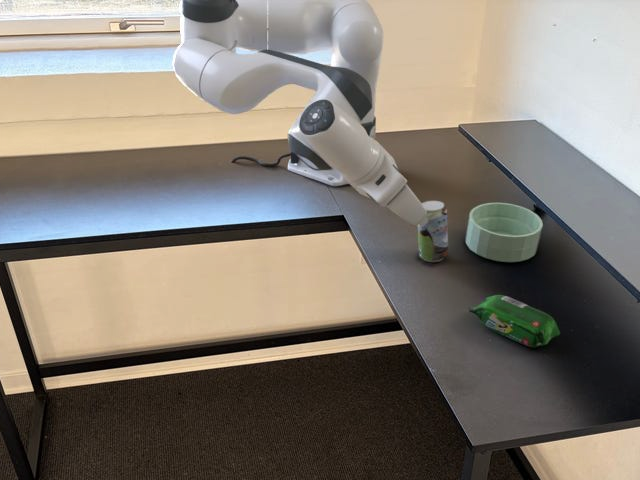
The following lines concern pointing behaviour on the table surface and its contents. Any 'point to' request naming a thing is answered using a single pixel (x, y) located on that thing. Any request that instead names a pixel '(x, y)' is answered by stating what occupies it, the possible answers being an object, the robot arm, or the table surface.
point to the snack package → (516, 320)
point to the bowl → (503, 232)
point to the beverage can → (434, 233)
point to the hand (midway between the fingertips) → (413, 211)
